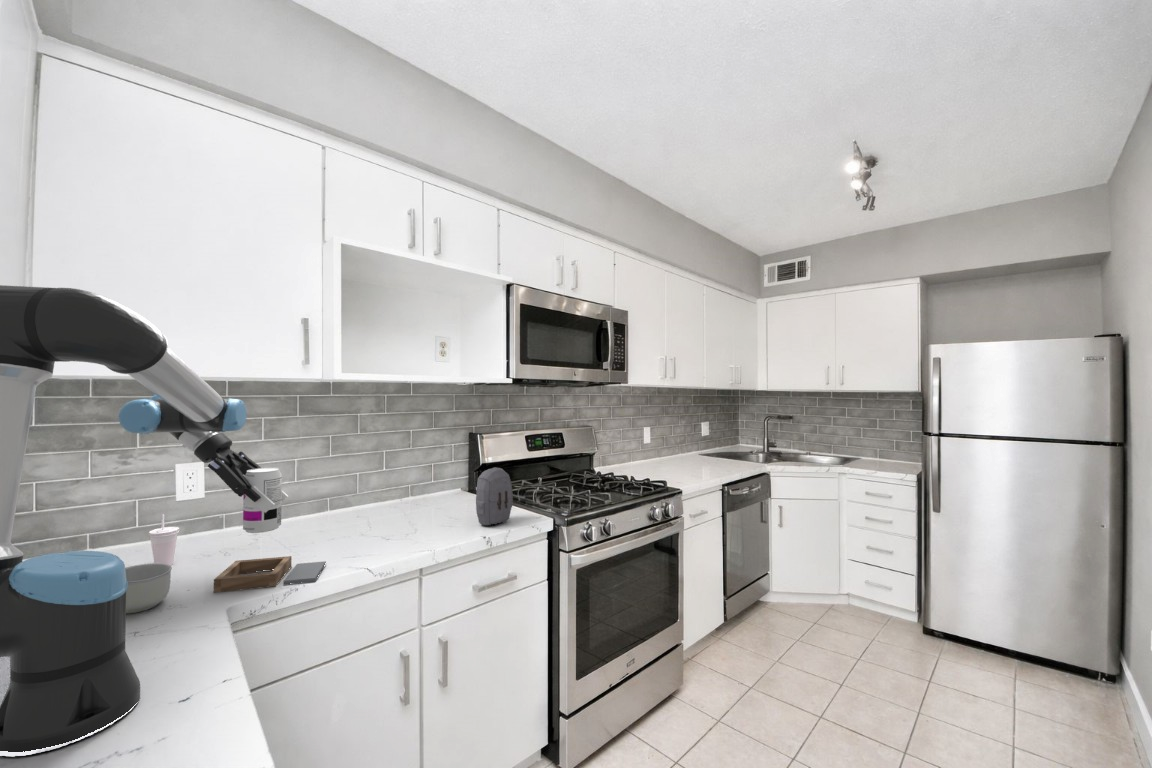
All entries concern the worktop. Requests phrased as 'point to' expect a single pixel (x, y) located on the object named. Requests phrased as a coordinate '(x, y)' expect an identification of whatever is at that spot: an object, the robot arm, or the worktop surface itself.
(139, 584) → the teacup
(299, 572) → the rubber mat
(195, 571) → the worktop surface
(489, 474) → the soft grey pack
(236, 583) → the pocket frame
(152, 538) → the smoothie
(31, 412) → the robot arm
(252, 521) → the supplement can
